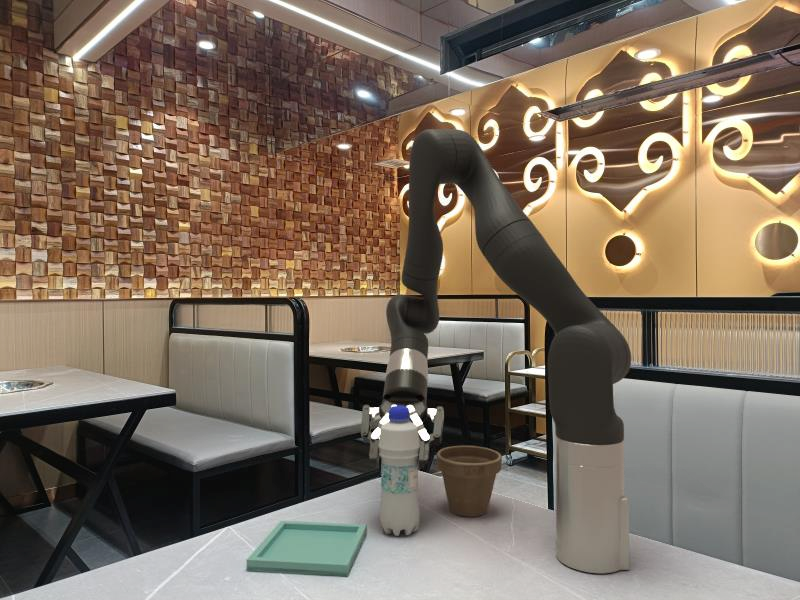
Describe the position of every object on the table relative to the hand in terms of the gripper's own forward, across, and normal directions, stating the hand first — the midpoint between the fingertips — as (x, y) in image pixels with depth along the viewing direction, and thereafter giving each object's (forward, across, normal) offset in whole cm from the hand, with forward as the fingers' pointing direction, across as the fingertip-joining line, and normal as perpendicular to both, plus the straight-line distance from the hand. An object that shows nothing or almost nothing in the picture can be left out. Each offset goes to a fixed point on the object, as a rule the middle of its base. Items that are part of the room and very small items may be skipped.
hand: (398, 464), depth 89 cm
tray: (+13, -12, +2) cm, 18 cm away
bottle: (+7, 0, +9) cm, 11 cm away
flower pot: (0, +11, +16) cm, 20 cm away
